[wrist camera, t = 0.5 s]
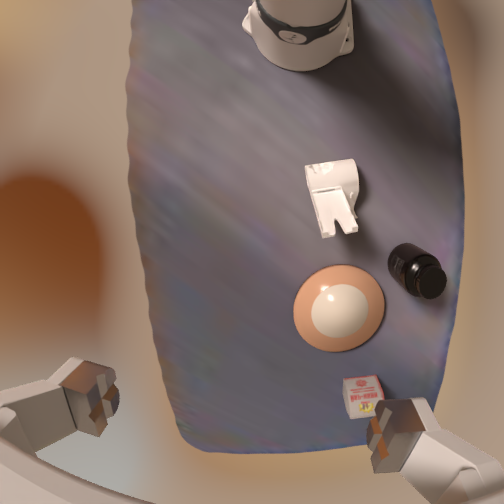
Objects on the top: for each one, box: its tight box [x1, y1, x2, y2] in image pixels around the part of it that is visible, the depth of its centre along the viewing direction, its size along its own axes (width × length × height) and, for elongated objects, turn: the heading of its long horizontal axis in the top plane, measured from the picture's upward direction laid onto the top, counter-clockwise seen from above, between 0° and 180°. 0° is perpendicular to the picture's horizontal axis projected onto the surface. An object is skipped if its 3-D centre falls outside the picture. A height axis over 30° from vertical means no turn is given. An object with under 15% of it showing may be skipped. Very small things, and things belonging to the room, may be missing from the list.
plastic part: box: [305, 159, 359, 238], centre depth 44 cm, size 8×10×12 cm
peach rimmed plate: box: [293, 264, 384, 352], centre depth 53 cm, size 16×16×2 cm
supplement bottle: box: [388, 243, 447, 299], centre depth 45 cm, size 7×7×12 cm
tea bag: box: [343, 375, 385, 419], centre depth 53 cm, size 4×7×10 cm, turn 95°
